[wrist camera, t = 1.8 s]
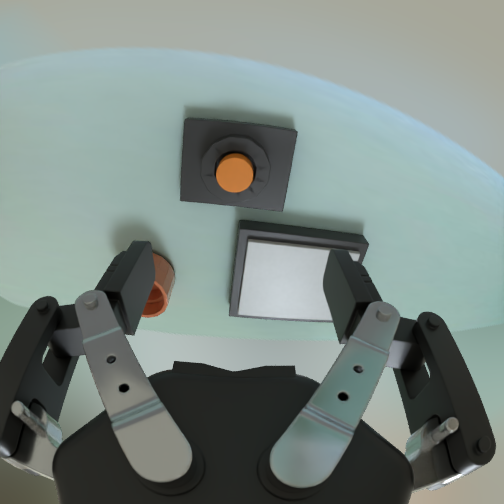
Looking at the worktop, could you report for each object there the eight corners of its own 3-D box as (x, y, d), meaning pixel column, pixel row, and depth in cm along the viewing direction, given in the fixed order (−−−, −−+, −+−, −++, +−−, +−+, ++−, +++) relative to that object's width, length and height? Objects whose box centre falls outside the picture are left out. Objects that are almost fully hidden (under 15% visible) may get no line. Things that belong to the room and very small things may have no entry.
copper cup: (129, 288, 34) (118, 312, 30) (123, 246, 31) (108, 269, 27) (176, 294, 34) (169, 320, 31) (175, 252, 31) (165, 276, 27)
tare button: (216, 184, 24) (214, 190, 23) (219, 151, 23) (217, 155, 21) (250, 187, 25) (250, 194, 23) (254, 155, 23) (255, 159, 22)
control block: (182, 196, 28) (176, 207, 25) (187, 117, 23) (180, 120, 21) (281, 206, 28) (284, 219, 26) (295, 129, 24) (301, 134, 22)
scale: (229, 305, 35) (228, 319, 33) (239, 219, 29) (239, 231, 27) (333, 312, 37) (338, 326, 34) (363, 235, 30) (371, 247, 28)
